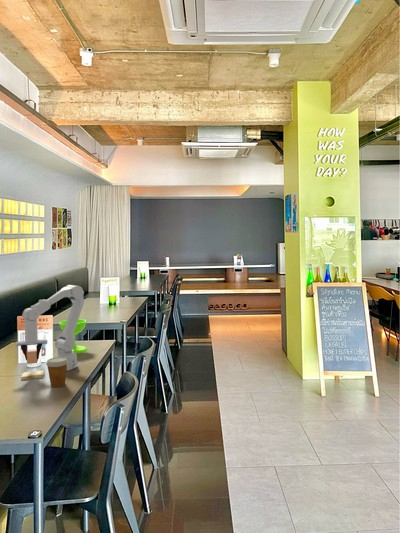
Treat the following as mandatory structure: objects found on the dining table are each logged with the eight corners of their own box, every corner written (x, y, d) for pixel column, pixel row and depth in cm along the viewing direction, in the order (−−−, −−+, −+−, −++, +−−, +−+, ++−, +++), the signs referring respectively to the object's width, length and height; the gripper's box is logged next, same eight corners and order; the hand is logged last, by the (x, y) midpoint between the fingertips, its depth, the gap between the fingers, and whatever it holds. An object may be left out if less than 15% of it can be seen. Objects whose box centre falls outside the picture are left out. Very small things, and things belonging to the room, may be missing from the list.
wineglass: (76, 345, 260) (75, 318, 259) (92, 349, 250) (91, 320, 249) (54, 351, 247) (53, 322, 246) (71, 355, 238) (69, 325, 236)
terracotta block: (38, 360, 205) (37, 349, 205) (36, 363, 201) (36, 351, 200) (28, 361, 204) (28, 349, 204) (27, 364, 199) (26, 352, 199)
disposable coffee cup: (72, 382, 191) (71, 357, 191) (59, 389, 182) (58, 363, 182) (56, 380, 195) (55, 356, 194) (42, 387, 186) (41, 361, 185)
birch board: (44, 373, 206) (44, 370, 206) (42, 377, 199) (42, 374, 199) (23, 375, 203) (23, 372, 203) (21, 379, 196) (20, 376, 196)
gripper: (13, 335, 195) (15, 362, 196) (45, 332, 199) (46, 360, 200) (16, 332, 202) (17, 358, 203) (47, 330, 206) (48, 356, 207)
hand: (32, 359), depth 202 cm, fingers closed on terracotta block, 4 cm apart
